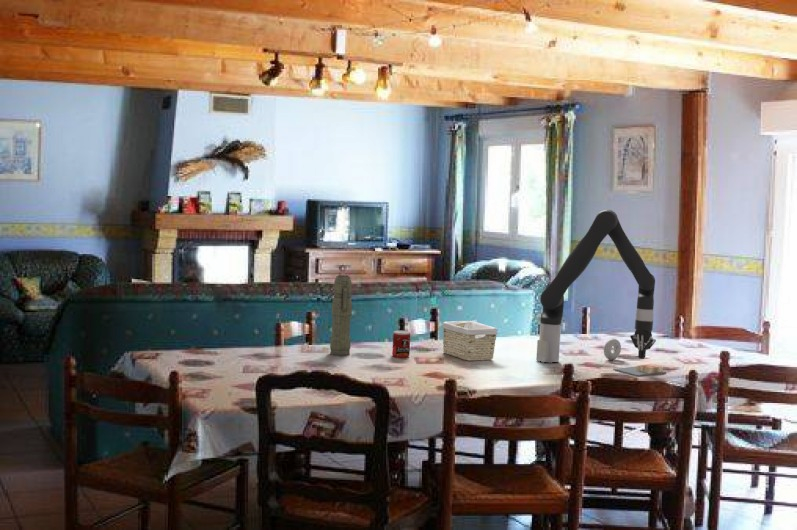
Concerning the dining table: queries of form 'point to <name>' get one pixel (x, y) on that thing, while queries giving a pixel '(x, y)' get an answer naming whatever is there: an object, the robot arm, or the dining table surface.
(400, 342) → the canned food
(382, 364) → the dining table surface
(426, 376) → the dining table surface
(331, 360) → the dining table surface
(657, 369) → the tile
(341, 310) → the grey-green tall rounded block
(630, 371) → the mat
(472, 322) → the storage basket
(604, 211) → the robot arm
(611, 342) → the donut
